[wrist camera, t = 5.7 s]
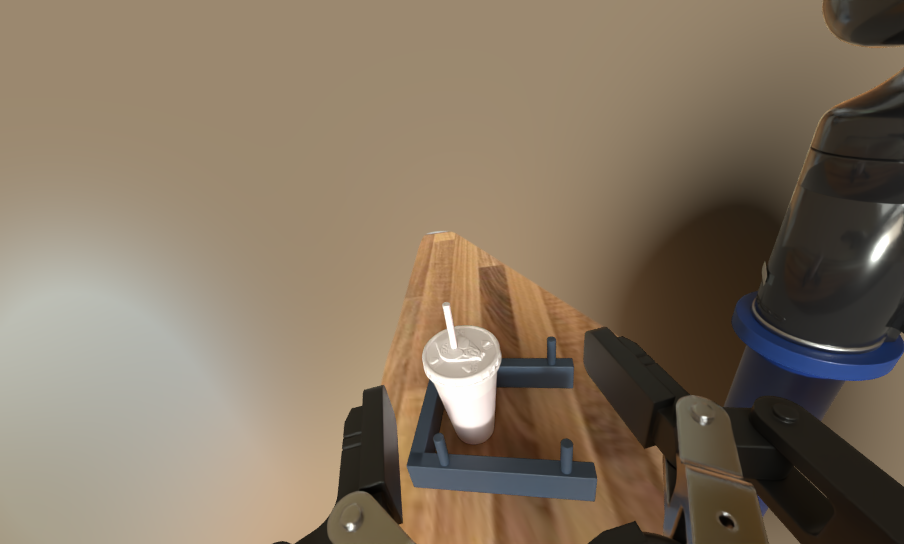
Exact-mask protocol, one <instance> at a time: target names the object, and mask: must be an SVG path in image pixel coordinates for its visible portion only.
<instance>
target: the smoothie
mask: <svg viewBox="0 0 904 544" xmlns="http://www.w3.org/2000/svg"><path fill="white" fill-rule="evenodd" d="M443 310H444V315H445V320H446V325H447V329H445V330H443V331H441V332H439V333H437V334H436V335H435V336H433V337H432V338H431V339H430V340H429V341H428V343H427V344H426V345H425V347H424V350H423V353H422V360H423V364H424V371H425V373H426V375H427V377H428V378H429V379H430V380H431V381H432V382H433V383H434V385H435V387H436V389H437V391H438V393H439V396H440V398H441V400H442V402H443V405H444V407H445V409H446V411H447V414H448V416H449V418H450V420H451V423H452V425H453V427H454V429H455V432H456V434H457V436H458V437H459V439H460V440H462V441H463V442H465V443H467V444H472V445H475V444H480V443H483V442H485V441H486V440H488V439H489V438H490V437H491V435H492V433H493V431H494V422H495V402H496V382H497V370H498V369H499V366H500V364H501V351H500V346H499V342H498V340H497V338H496V337H495V336H494V335H493V334H492V333H491V332H489V331H488V330H486V329H484V328H481V327H478V326H472V325H461V326H454V324H453V318H452V313H451V308H450V303H448V302H445V303H443Z"/></svg>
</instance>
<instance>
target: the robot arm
mask: <svg viewBox="0 0 904 544" xmlns="http://www.w3.org/2000/svg"><path fill="white" fill-rule="evenodd" d="M822 10H823V17H824V21H825V24H826V26H827V27H828V29H829V30H830V32H831V33H832V34H833V35H834V36H836V37H837V38H838V39H839V40H841V41H843V42H846V43H848V44H851V45H855V46H862V47H869V48H884V47H885V48H887V47H900V46H904V0H823V6H822ZM762 277H763V279H762V282H761V284H760V287H759V290H758V293H757V296H756V298H755V299H754V301H753V303H752V306H751V313H752V315H753V317H754V319H755V320H756V321H757V322H758V323H759V324H760V325H761V326H762V327H764V328H765V329H766V330H768V331H769V332H771V333H773V334H774V335H776V336H778V337H780V338H782V339H784V340H787V341H789V342H791V343H794V344H797V345H800V346H803V347H806V348H810V349H814V350H818V351H823V352H828V353H835V354H864V353H869V352H872V351H874V350H876V349H878V348H879V347H880V346H881V345H882V344H883V343H884V342H895V341H896V339H897V338H898V336H899V335H900V333H901V332H903V333H904V68H903V69H901V70H900V71H899V72H898V73H896V74H895V75H893V76H892V77H891V78H889V79H888V80H886V81H885V82H883V83H881V84H880V85H878V86H877V87H874V88H873V89H871V90H869V91H867V92H865V93H863V94H861V95H858V96H856V97H854V98H851V99H849V100H847V101H844V102H842V103H840V104H838V105H836V106H834V107H832V108H831V109H829V110H828V111H827V112H826V113H825V114H824V115H823V116H822V118H821V119H820V121H819V123H818V125H817V128H816V130H815V133H814V136H813V139H812V142H811V145H810V148H809V151H808V153H807V156H806V159H805V162H804V165H803V167H802V170H801V173H800V176H799V179H798V182H797V184H796V187H795V190H794V193H793V196H792V199H791V202H790V204H789V207H788V210H787V212H786V215H785V218H784V221H783V223H782V226H781V229H780V232H779V235H778V237H777V240H776V243H775V246H774V248H773V251H772V254H771V257H770V259H769V262H768V265H767V268H766V264H765V262H764V265H763V268H762ZM583 360H584V366H585V369H586V371H587V373H588V375H589V376H590V377H591V379H592V380H593V381H594V383H595V384H596V385H597V387H598V388H599V389H600V391H601V392H602V393H603V395H604V396H605V397H606V399H607V400H608V401H609V402H610V404H611V405H612V406H613V408H614V409H615V410H616V412H617V413H618V414H619V416H620V417H621V418H622V420H623V421H624V422H625V424H626V425H627V426H628V428H629V429H630V430H631V432H632V433H633V434H634V436H635V437H636V438H637V439H638V441H639V442H640V443H641V445H642V446H643V447H644V449H645V448H649V447H652V446H655V445H656V446H657V447H658V448H659V450H660V451H661V452H662V453H663V481H664V506H665V514H664V524H663V536H662V535H659V534H655V533H649V532H642V531H641V530H640V528H639V526H638V525H637V523H636V521H634V522H631V523H628V524H625V525H622V526H619V527H615V528H612V529H609V530H606V531H603V532H602V533H601V534H599V535H598V536H597V537H596V538H594V539H593V540H592V541H590V542H589V543H588V544H769V542H768V538H767V534H766V530H765V526H764V522H763V518H762V514H761V510H760V506H759V502H758V498H757V495H758V496H759V497H760V498H761V499H762V500H763V502H764V503H765V504H766V505H767V506H768V507H769V508H770V509H771V511H772V512H773V513H774V514H775V515H776V516H777V517H778V518H779V520H780V521H781V522H782V523H783V524H784V525H785V526H786V528H787V529H788V530H789V531H790V532H791V533H792V534H793V535H794V537H795V538H796V539H797V540H798V541H799V542H800V543H801V544H904V487H903V486H902V485H901V484H899V483H898V482H897V481H896V480H894V479H893V478H892V477H891V476H889V475H888V474H887V473H885V472H884V471H883V470H881V469H880V468H879V467H878V466H877V465H875V464H874V463H873V462H872V461H870V460H869V459H867V458H866V457H865V456H864V455H863V454H861V453H860V452H859V451H857V450H856V449H855V448H854V447H852V446H851V445H850V444H849V443H847V442H846V441H845V440H844V439H842V438H841V437H840V436H838V435H837V434H836V433H835V432H833V431H832V430H831V429H830V428H828V427H827V426H826V425H825V424H823V423H822V422H821V421H819V420H818V419H817V418H816V417H814V416H813V415H812V414H811V413H809V412H808V411H807V410H805V409H804V408H803V407H801V406H800V405H798V404H796V403H794V402H792V401H790V400H787V399H784V398H781V397H776V396H762V397H759V398H758V399H756V400H755V402H754V404H753V407H752V408H729V407H721V406H719V405H718V404H717V403H715V402H713V401H711V400H709V399H706V398H704V397H701V396H694V395H690V394H688V392H686V391H685V390H684V389H683V388H682V387H681V386H680V385H679V384H678V383H677V382H676V381H675V380H674V379H673V378H672V377H671V376H670V375H669V374H668V373H667V372H666V371H665V370H663V368H661V367H660V366H659V365H658V364H657V363H655V361H654V360H653V359H652V358H651V357H650V356H649V355H647V354H646V352H645V351H644V350H643V349H642V348H641V347H639V345H637V344H636V343H635V342H633V341H631V340H629V339H627V338H625V337H623V336H621V337H616V336H615V335H614V334H613V332H612V331H611V330H610V329H608V328H607V327H601V328H598V329H594V330H590V331H587V332H586V333H585V340H584V358H583ZM343 435H344V436H343V437H344V439H343V445H342V449H343V451H342V456H341V466H340V477H339V487H338V496H337V501H336V504H335V506H334V508H333V510H332V512H331V514H330V515H329V517H328V518H327V519H326V520H325V522H324V523H323V524H322V525H321V526H319V528H317V529H316V530H314V531H313V532H311V533H310V534H308V535H307V536H305V537H304V538H302V539H301V540H299V541H298V542H296V543H295V544H416V543H415V542H414V541H413V540H412V539H411V538H410V537H409V536H408V535H407V534H406V533H405V532H404V531H403V530H402V528H401V527H400V526H399V524H402V523H403V518H402V502H401V486H400V470H399V454H398V438H397V425H396V419H395V414H394V411H393V408H392V405H391V402H390V399H389V397H388V394H387V391H386V388H385V386H384V385H381V386H377V387H373V388H370V389H366V390H364V391H363V405H362V406H360V407H356V408H352V409H351V411H350V413H349V415H348V417H347V419H346V421H345V425H344V434H343ZM794 466H795V467H796V468H797V469H798V470H799V471H800V472H801V473H803V475H804V476H806V477H807V478H808V479H809V480H810V481H811V482H812V483H813V484H814V485H815V486H816V487H817V488H818V489H819V490H820V491H821V492H822V493H823V494H824V495H825V496H826V497H827V498H828V499H829V500H828V499H827V498H826V497H825V496H824V495H823V494H822V493H821V492H820V491H819V490H818V489H817V488H816V487H815V486H814V485H813V484H812V483H810V481H808V480H807V479H806V478H805V477H804V476H803V475H802V474H801V473H800V472H799V471H798V470H797V469H796V468H795V467H794ZM273 544H290V543H288V542H284V541H282V542H276V543H273Z"/></svg>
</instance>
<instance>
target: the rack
mask: <svg viewBox="0 0 904 544" xmlns="http://www.w3.org/2000/svg"><path fill="white" fill-rule="evenodd" d="M573 376H574V365H573V361H572V358H556V339H555V338H554V337H548V338H547V358H501V364H500V366H499V369H498V370H497V382H496V387H525V388H573ZM443 410H444V405H443V402H442V400H441V398H440V396H439V393H438V391H437V389H436V387H435V385H434V383H433V382H432V381H431V380H430V379H429V383H428V387H427V391H426V394H425V398H424V402H423V406H422V410H421V413H420V417H419V421H418V425H417V429H416V432H415V436H414V440H413V444H412V448H411V451H410V455H409V459H408V462H407V469H408V472H409V474H410V477H411V480H412V482H413V485H414V487H421V488H433V489H446V490H458V491H471V492H483V493H496V494H508V495H521V496H534V497H546V498H559V499H571V500H584V501H595V494H596V485H597V475H596V471H595V466H594V463H593V462H577V461H572V459H573V443H572V441H571V440H569V439H563V440H562V441H561V456H560V460H542V459H525V458H508V457H490V456H473V455H456V454H448V450H447V447H446V443H445V439H444V436H443V434H441V433H439V430H440V425H441V420H442V415H443ZM435 450H436V451H437V453H435Z"/></svg>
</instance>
